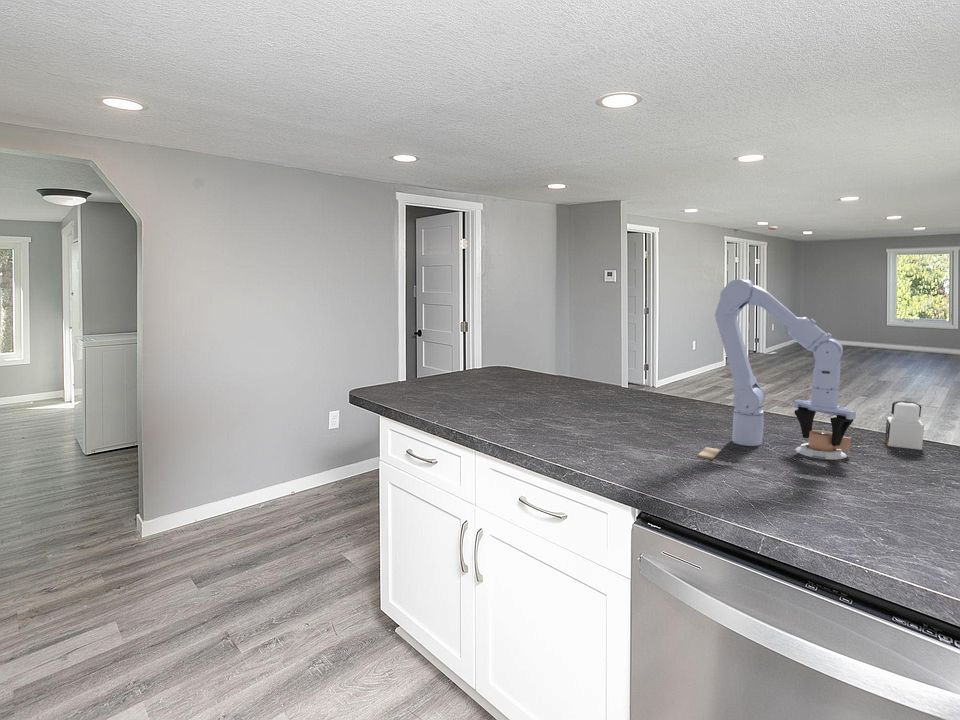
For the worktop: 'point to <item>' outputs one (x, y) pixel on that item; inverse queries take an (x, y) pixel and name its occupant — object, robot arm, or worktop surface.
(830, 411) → the robot arm
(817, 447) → the mug
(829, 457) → the plate
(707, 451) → the mat
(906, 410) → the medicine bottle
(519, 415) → the worktop surface
